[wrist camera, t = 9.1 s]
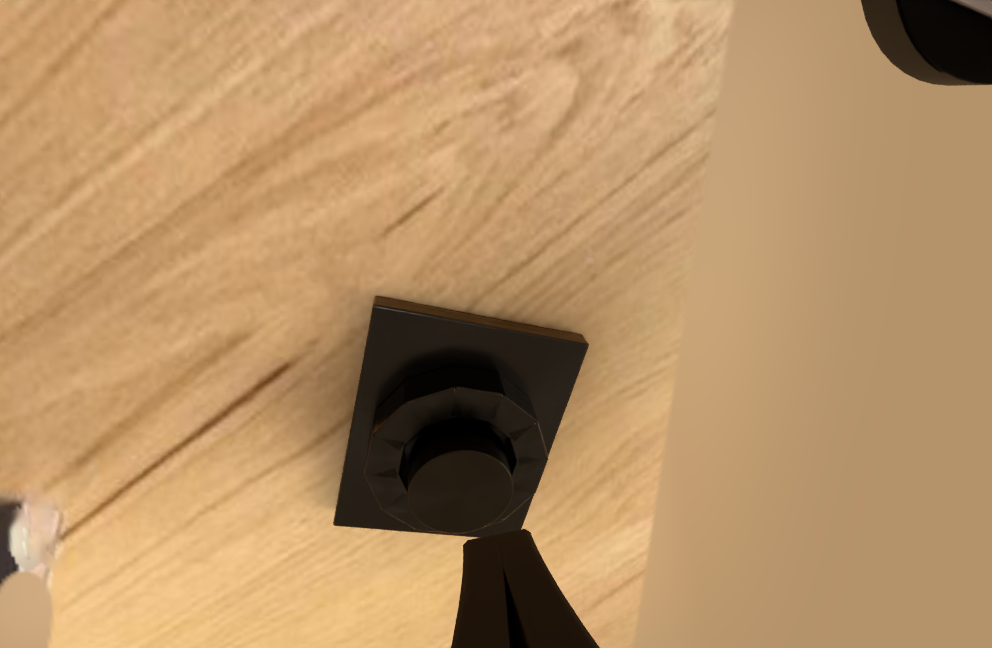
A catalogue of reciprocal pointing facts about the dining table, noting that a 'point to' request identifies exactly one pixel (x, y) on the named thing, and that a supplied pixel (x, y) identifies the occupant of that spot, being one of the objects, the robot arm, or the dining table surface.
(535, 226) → the dining table surface
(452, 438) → the alarm button
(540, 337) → the block
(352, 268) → the dining table surface
